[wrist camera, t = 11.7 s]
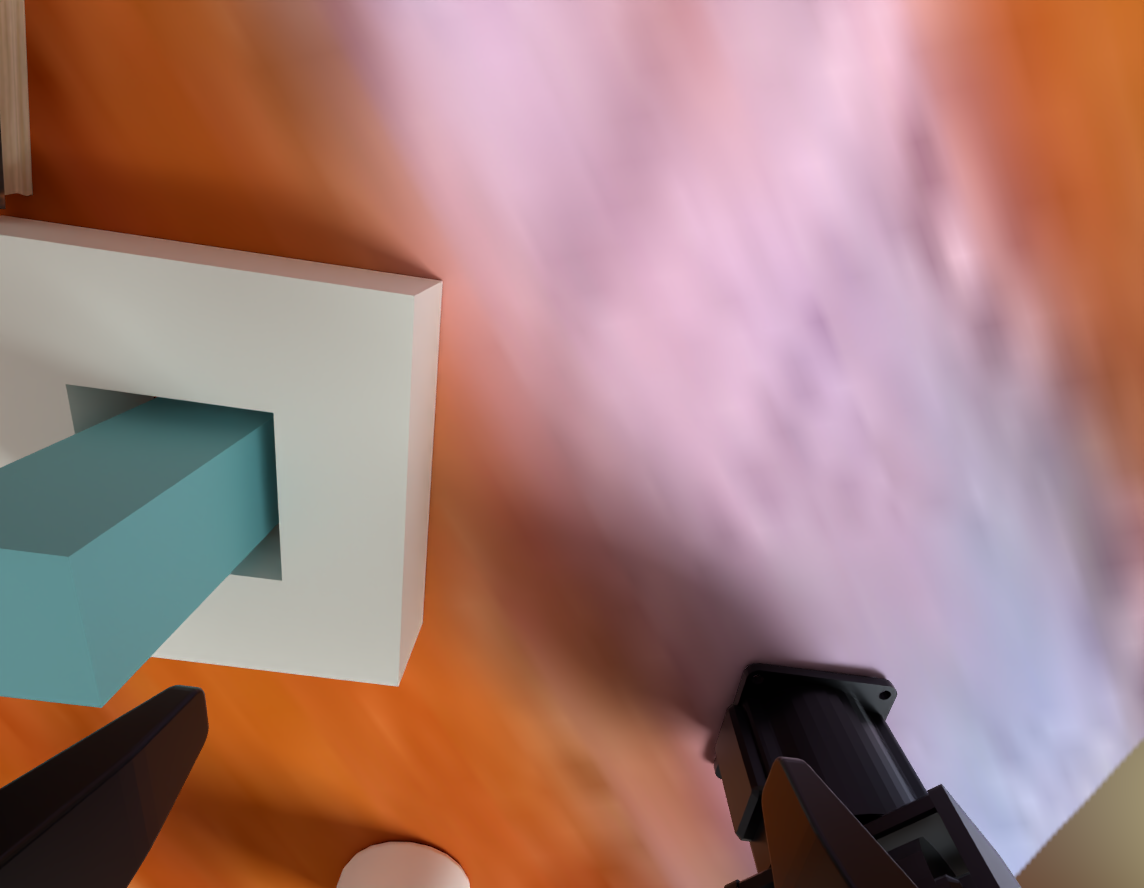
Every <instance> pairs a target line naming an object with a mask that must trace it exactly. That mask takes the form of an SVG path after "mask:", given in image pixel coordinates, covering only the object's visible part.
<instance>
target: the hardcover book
mask: <svg viewBox="0 0 1144 888" xmlns="http://www.w3.org/2000/svg"><path fill="white" fill-rule="evenodd" d="M14 193H18V194H21V195H25V196H29V195H33V191H32V168H31V144H30V121H29V98H28V74H27V51H26V28H25V5H24V0H0V209H6V208H5V195H9V194H14Z"/></svg>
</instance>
